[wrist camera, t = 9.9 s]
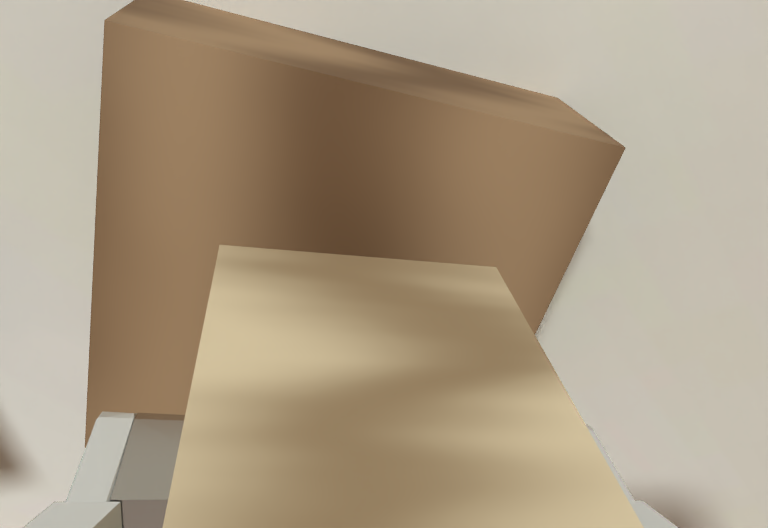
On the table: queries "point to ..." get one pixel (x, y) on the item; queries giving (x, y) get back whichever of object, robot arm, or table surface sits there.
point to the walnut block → (306, 177)
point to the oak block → (379, 404)
